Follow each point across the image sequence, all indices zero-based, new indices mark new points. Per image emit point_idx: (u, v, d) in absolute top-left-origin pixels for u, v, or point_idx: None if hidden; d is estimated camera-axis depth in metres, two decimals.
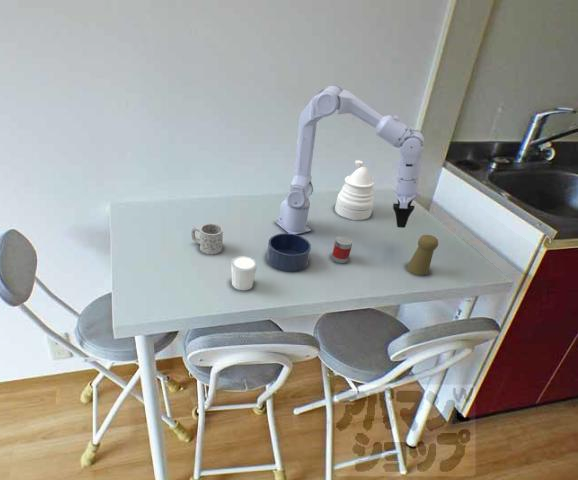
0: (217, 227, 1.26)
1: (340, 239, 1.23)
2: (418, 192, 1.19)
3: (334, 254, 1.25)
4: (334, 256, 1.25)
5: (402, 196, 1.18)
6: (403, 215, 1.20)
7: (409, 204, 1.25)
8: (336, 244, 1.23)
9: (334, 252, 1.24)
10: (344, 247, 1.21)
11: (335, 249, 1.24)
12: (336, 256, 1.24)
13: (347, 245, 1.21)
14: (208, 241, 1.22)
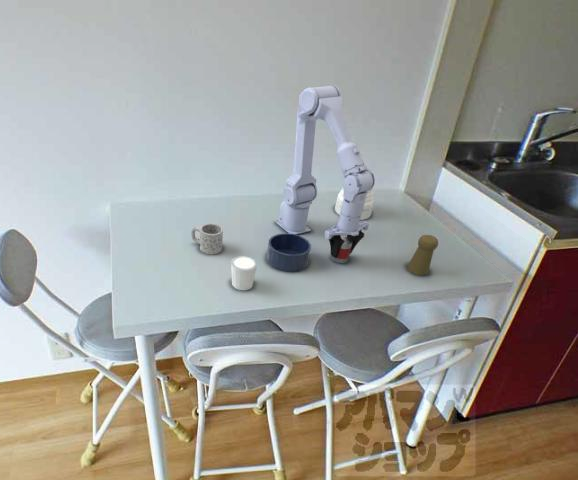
0: (217, 227, 1.26)
1: None
2: (355, 232, 1.18)
3: None
4: None
5: (337, 228, 1.19)
6: (335, 245, 1.22)
7: (353, 243, 1.23)
8: None
9: None
10: (344, 247, 1.21)
11: None
12: None
13: (347, 245, 1.21)
14: (208, 241, 1.22)
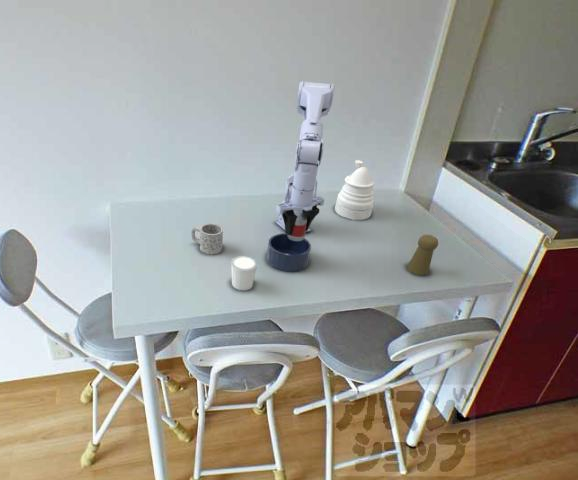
0: (217, 227, 1.26)
1: None
2: (308, 207, 1.11)
3: None
4: None
5: (290, 203, 1.13)
6: (289, 222, 1.15)
7: (308, 219, 1.17)
8: None
9: None
10: (298, 223, 1.15)
11: None
12: None
13: (301, 221, 1.15)
14: (208, 241, 1.22)
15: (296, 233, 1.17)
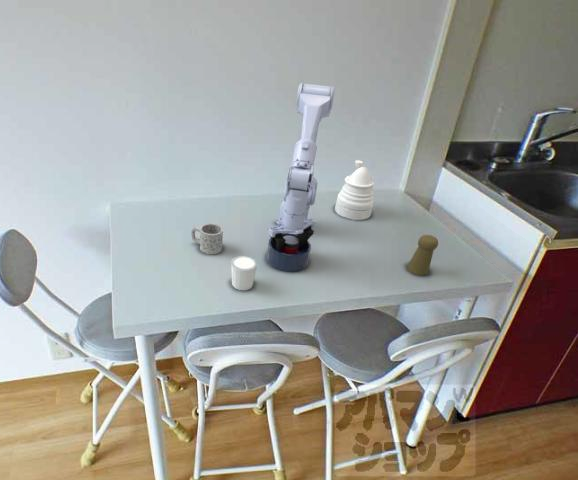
0: (217, 227, 1.26)
1: (286, 238, 1.21)
2: (299, 230, 1.15)
3: None
4: None
5: (282, 226, 1.17)
6: (278, 244, 1.19)
7: (303, 240, 1.21)
8: None
9: None
10: (290, 246, 1.19)
11: None
12: None
13: (293, 244, 1.19)
14: (208, 241, 1.22)
15: None
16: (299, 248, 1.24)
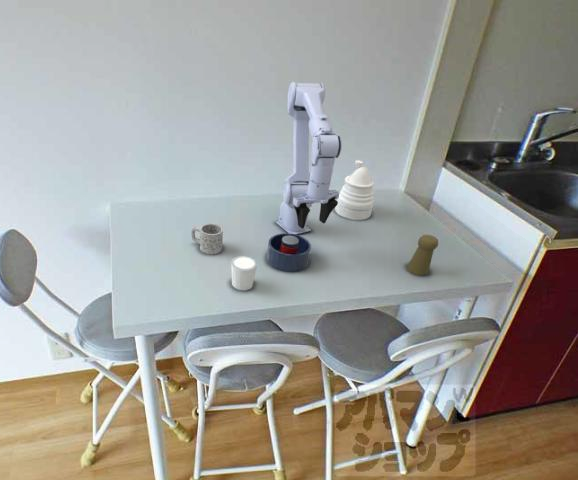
0: (217, 227, 1.26)
1: (286, 238, 1.21)
2: (324, 200, 1.15)
3: None
4: None
5: (306, 196, 1.16)
6: (301, 215, 1.18)
7: (327, 212, 1.21)
8: (282, 243, 1.20)
9: (281, 251, 1.22)
10: (290, 246, 1.19)
11: (281, 248, 1.21)
12: None
13: (293, 244, 1.19)
14: (208, 241, 1.22)
15: None
16: (322, 220, 1.23)
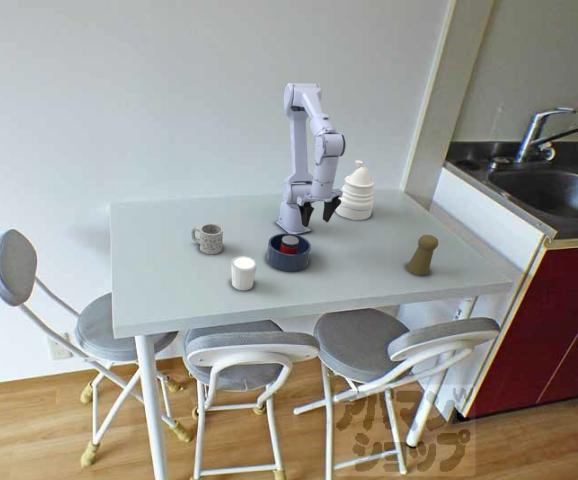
0: (217, 227, 1.26)
1: (286, 238, 1.21)
2: (328, 198, 1.15)
3: None
4: None
5: (310, 195, 1.17)
6: (305, 214, 1.19)
7: (330, 210, 1.21)
8: (282, 243, 1.20)
9: (281, 251, 1.22)
10: (290, 246, 1.19)
11: (281, 248, 1.21)
12: None
13: (293, 244, 1.19)
14: (208, 241, 1.22)
15: None
16: (326, 219, 1.24)
